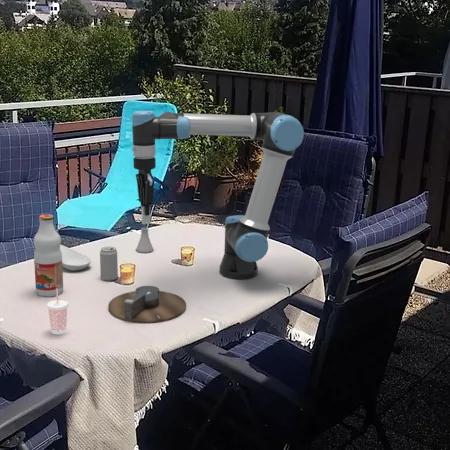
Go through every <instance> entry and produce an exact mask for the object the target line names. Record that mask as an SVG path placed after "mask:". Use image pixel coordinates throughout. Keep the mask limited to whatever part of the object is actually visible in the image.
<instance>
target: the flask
mask: <svg viewBox="0 0 450 450" xmlns="http://www.w3.org/2000/svg"><path fill="white" fill-rule="evenodd" d="M149 229H150V228H148V227H141V228H140V231H141V234H140V237H139V241H138V244H137V246H136V249H135V251H136V252H138V253H141V254H149V253H152V252H153V251H154V247H153V244H152V243H151V240H150V237H149Z"/></svg>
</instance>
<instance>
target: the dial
mask: <svg viewBox="0 0 450 450" xmlns="http://www.w3.org/2000/svg"><path fill="white" fill-rule="evenodd" d="M134 291H135V296H134V297H132V298H131V299H127V300H125V317H126V318H131V319H132V318H133V317H134V316H136V315H137V314H138V313H140V312H141V311H142V310H144V309H145V308H154V307H157V306H158V305H159V291H160V288H159V287H157V286H154V285H142V286H139V287H137V288H136V289H135V290H134Z"/></svg>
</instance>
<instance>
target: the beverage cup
mask: <svg viewBox="0 0 450 450" xmlns="http://www.w3.org/2000/svg"><path fill="white" fill-rule="evenodd" d="M55 297H56V300H52V301H48V303H46V305H47V309H48V316H49V325H50V326H49V327H50V333H51V334H53V335H62V334H65V333H66V332H67V328H68V327H67V325H68V324H67V323H68V320H67V319H68V318H67V317H68V306H69V302H68V301H67V300H65V299H64V300H63V299H62V300H61V299H59V295H58V288H56V296H55Z"/></svg>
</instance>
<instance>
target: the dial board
mask: <svg viewBox="0 0 450 450" xmlns="http://www.w3.org/2000/svg"><path fill="white" fill-rule="evenodd" d="M134 296H135V290H133V291H129V292H125V293H122V294H119V295H117V296H115V297H113V298H112V299H111V300H109V302H108V306H107V307H108V309H107V310H108V312H109V313H110V315H111V316H113V317H114V318H116V319H118V320H120V321H124V322H128V323H134V324H156V323H162V322H168V321H172V320H174V319H176V318H178V317H180V316H181V315H183V314H185V311H186V310H187V302H186V301H185V299H184V298H183V297H181V296H179V295H178V294H175V293H172V292H169V291H163V290H159V305H158V306H157V307H154V308H145V309H144V310H142V311H141V312H140V313H138V314H137V315H136V316H134V317H133V318H132V319H131V318H126V317H125V300H127V299H131V298H132V297H134Z"/></svg>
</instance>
